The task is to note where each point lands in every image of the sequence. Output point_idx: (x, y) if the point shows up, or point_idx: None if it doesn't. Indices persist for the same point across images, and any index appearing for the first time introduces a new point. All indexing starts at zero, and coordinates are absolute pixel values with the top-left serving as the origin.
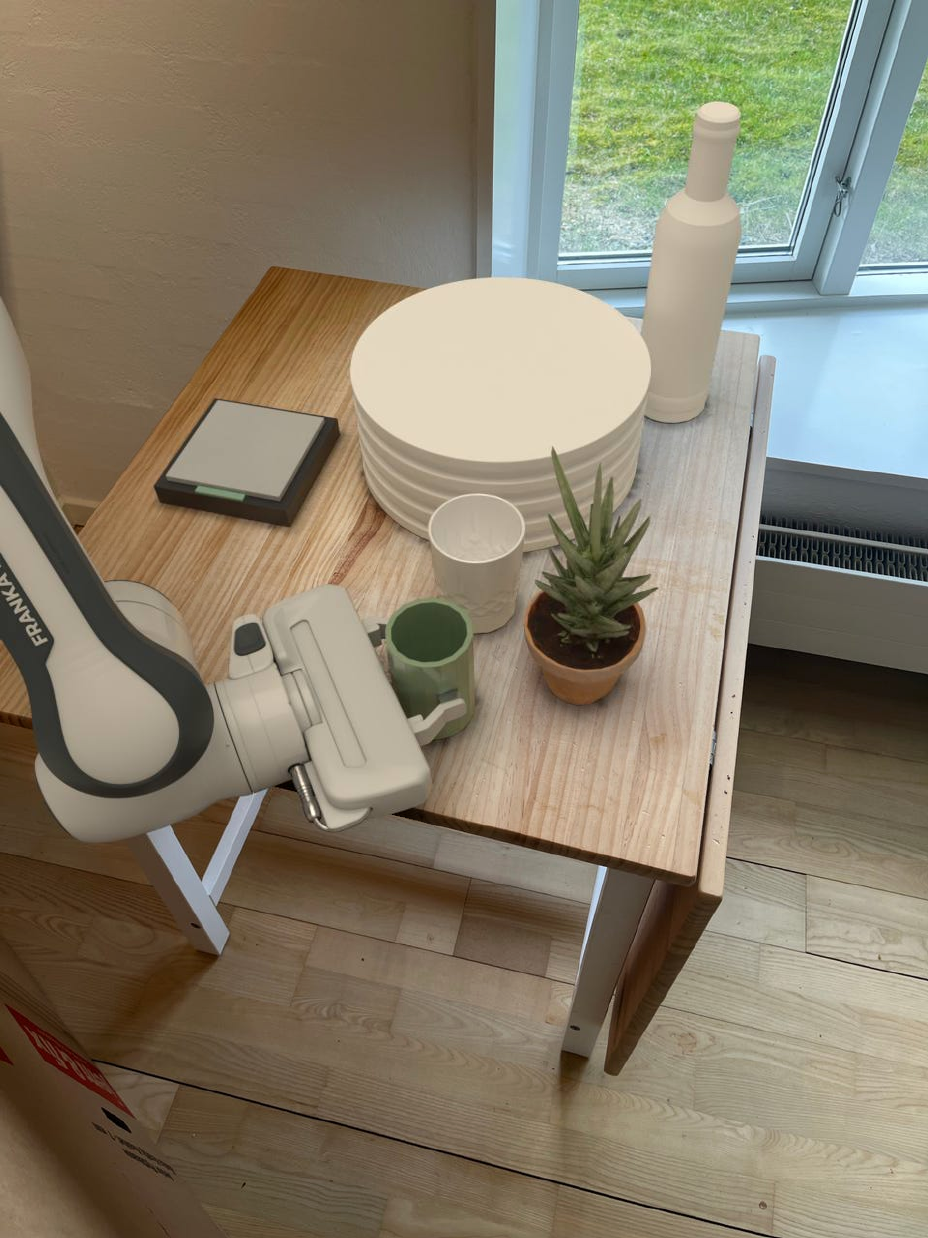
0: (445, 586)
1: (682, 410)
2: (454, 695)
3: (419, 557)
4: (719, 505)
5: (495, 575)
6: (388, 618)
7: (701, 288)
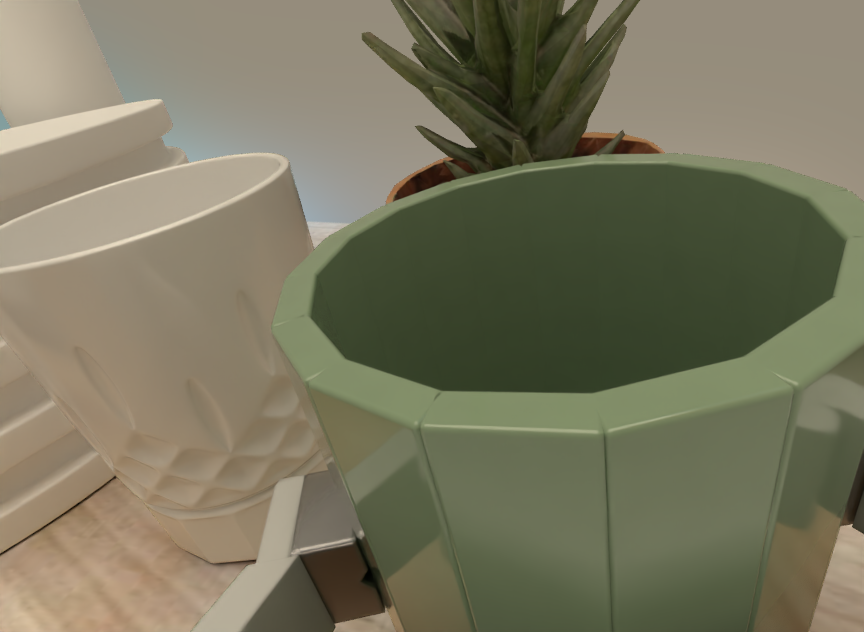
0: (212, 416)
1: None
2: None
3: (15, 593)
4: (314, 228)
5: (307, 239)
6: (203, 619)
7: (75, 36)
